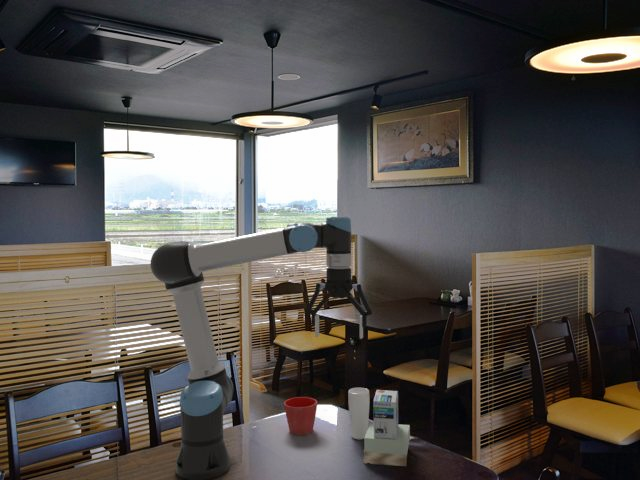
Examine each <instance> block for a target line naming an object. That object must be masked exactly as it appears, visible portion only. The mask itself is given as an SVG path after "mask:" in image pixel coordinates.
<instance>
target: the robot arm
mask: <svg viewBox="0 0 640 480" xmlns="http://www.w3.org/2000/svg"><path fill="white" fill-rule="evenodd" d="M351 222H352V220H351V218H350V217H348V216H327V217H326V218H325V222H321V223H320V222H319V223H317V222H316V223H315V222H294V223H293V222H292V223H288V224H287V226H286V227H281V228H276V229H272V230H266V231H261V232H256V233H251V234H246V235H241V236H236V237H232V238H226V239H222V240H216V241H211V242H206V243H201V244H195V243H193V242H187V241H182V240H181V241H174V242H171V243H166V244H163V245H161V246H159V247H158V248H156V249H155V251H154V252H153V253H152V255H151V258H150V269H151V272H152V275H153V276H154V277H155V278H156V279H157V280H159V282H162V283H164V287H165V290H166V292H168V293H171V295H172V297H173V301H174V304H175V305H174V306H175V311H176V313H177V317H178V322H179V323H178V324H179V326H180V331H181V335H182V339H183V343H184V346H185V351H186V354H187V356H186V357H187V359H188V364H189V367H190V372H189V373H188V374H187V381H188V384H187V385H186V386H185V387H184V388H182V390H181V391H180V395H179V407H180V410H179V412H180V435H181V443H180V444H181V445H180V448H179V452H178V454H177V458H176V460H175V461H176V462H175V473H176V475H177V476H178V477H179V478H181V479H184V480H212V479H215V478H217V477H220V476H223V475H224V474H226V473H227V472H228V471H229V469H230V467H231V455H230V453H229V451H228V448H227V445H226V441H225V440H224V414H225V412H226V410H227V408H228V406H229V405H230V403H231V402H232V400H233V395H234V384H233V381H232V379H231V378H230V376H229V375H228V374H227V370H226V366H225V365H224V364H222V363H221V362H219V358H218V354H217V349H216V346H215V340H214V338H213V337H214V336H213V333H212V329H211V325H210V324H211V323H210V321H209V317H208V313H207V307H206V304H205V300H204V295H203V292H202V286H203V284H204V282H205V278H204V274H203V272H206V271H207V272H208V271H211V270H217V269H221V268H222V269H223V268H227V267H232V266H237V265H241V264H246V263H250V262H251V263H252V262H255V261H261V260H266V259H271V258H277V257H279V256H280V257H281V256H285V255H290V254H296V253H306V252H310V251H311V250H313V249H319V248H320V249H321V248H322V249H326V253H325V254H326V256H325V257H326V260H325V261H326V264H325V265H326V266H327V268H326V282H325V283H322V282H317V283H316V285H315V291H314V293H313V294H312V297H311V298H310V300H309V303H308V305H307V307H306V308H305V313H306V314H309V315H311V325H312V326H314V330H315V331H314V337H315V338H318V337H319V336H320V313H318V312H319V311H320V310H321V309H322V308H323V306H324V305H325V304H326V302H328V300H329V299H330V298H333V299H345V298H346V299H348V301H349V302H350V303H351V304H352V306H353V307H354V308H355V309H356V310H357V311H358V313H359V314H360V316H359V340H361V339H363V338H364V328H366V327H367V323H368V321H367V320H368V319H367V317H368V316H371V315H372V314H373V313H374V312H373V309H372V306H371V305H370V303H369V301H368V299H367V297H366V294H365V293H364V290H363V285H362V283H360V282H358V283H352V269H351V266H352V223H351ZM324 288H325V290H326V292H327V293H326V295H325V296H324V297H323V298H322V299H321V300H320V302H318V304H317V305H316V307H315V308H314V309H313V307H314V305H315V303H316V300H317V299H318V297H319V294H320V293H321V291H322V290H324ZM353 289H354V290H355V292H357V295H358V296H359V298H360V300H361V302H362V304H363V306H364V308H363V306H362V305H361V304H360V303H359V302H358V300H357V299H356V298H355V297H354V295H353V294H352V293H351V291H352V290H353ZM317 313H318V314H317Z"/></svg>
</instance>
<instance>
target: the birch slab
mask: <svg viewBox="0 0 640 480" xmlns="http://www.w3.org/2000/svg"><path fill="white" fill-rule="evenodd" d="M407 459H408V454H407V455H398V454H386V453H374V452H365V449H363V464H367V463H370V464H371V465H382V464H383V465H384V466H399V467H400V466H401V467H407ZM383 465H382V466H383Z"/></svg>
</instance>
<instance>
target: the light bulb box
mask: <svg viewBox="0 0 640 480" xmlns="http://www.w3.org/2000/svg"><path fill="white" fill-rule="evenodd" d="M373 423H374V437H375V438H389V439H397V432H398V424H399V391H398V390H386V389H385V390H384V389H383V390H382V389H376V391H375V395H374V397H373Z"/></svg>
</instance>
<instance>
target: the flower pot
mask: <svg viewBox="0 0 640 480" xmlns="http://www.w3.org/2000/svg"><path fill="white" fill-rule="evenodd" d="M283 406H284V411H285V415H286V416H285V417H286V420H287V421H286V422H287V426H288V430H289V433H291V434H292V435H297V436H305V435H309V434H311V433H312V432H313V431H314V426H315V420H316V415H317V407H318V400H317V399H315V398H312V397H308V396H297V397H291V398H289V399H286V400H284V403H283Z"/></svg>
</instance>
